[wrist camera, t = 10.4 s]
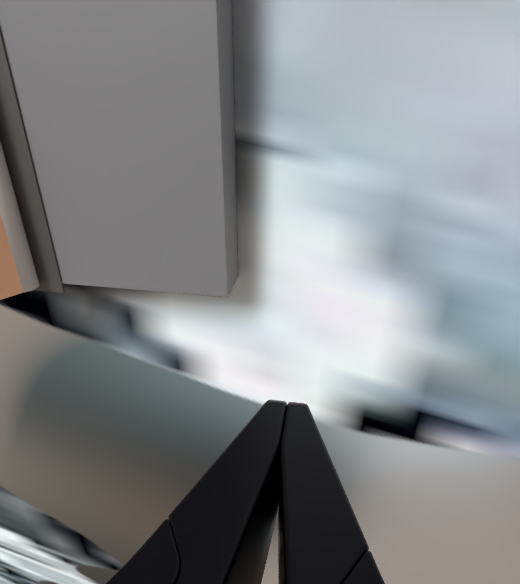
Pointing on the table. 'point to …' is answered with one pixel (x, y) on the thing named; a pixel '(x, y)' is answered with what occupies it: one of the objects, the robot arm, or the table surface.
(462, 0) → the table surface
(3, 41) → the switch panel
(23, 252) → the tan flat block
